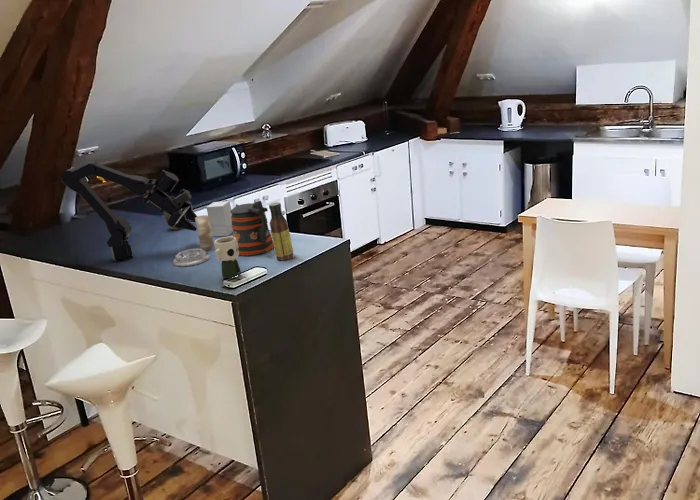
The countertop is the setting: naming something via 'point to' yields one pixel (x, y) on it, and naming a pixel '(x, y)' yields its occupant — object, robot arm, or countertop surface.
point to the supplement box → (220, 218)
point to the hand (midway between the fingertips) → (198, 226)
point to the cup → (168, 219)
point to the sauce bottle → (280, 233)
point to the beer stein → (251, 229)
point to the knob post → (204, 232)
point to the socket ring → (191, 257)
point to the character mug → (228, 256)
